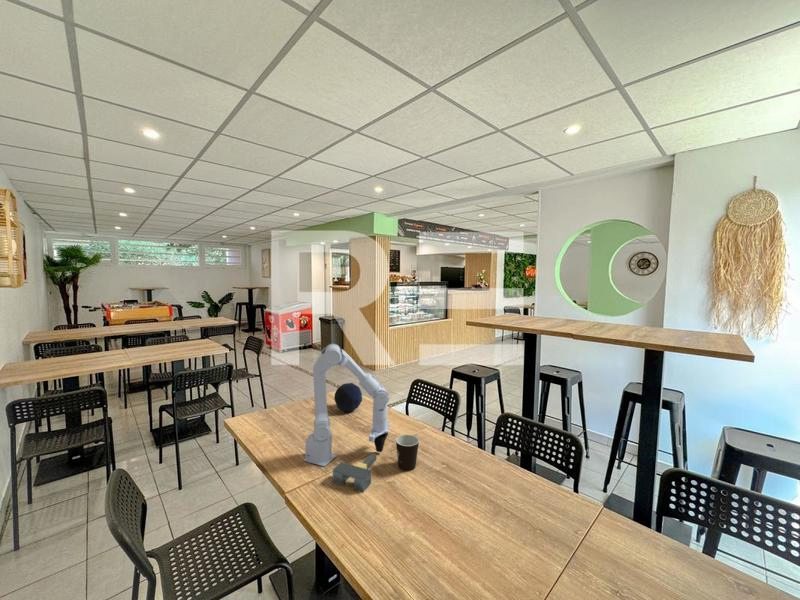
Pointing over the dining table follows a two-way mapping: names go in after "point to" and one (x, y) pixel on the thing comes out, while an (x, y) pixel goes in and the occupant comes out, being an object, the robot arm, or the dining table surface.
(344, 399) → the decorative orb
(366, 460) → the plug
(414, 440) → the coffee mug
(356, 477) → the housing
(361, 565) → the dining table surface
